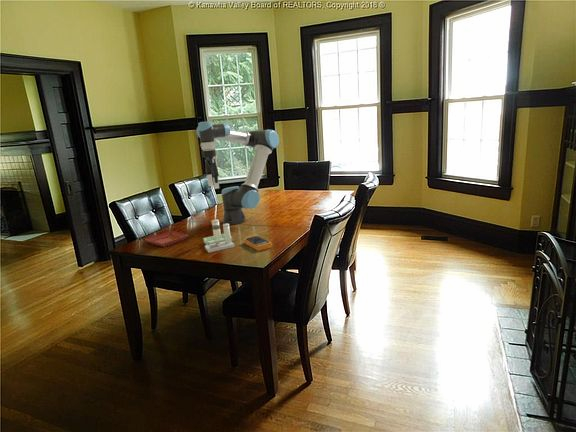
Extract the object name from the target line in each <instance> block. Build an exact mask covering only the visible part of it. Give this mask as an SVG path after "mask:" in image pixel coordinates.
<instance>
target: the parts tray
mask: <svg viewBox="0 0 576 432" xmlns="http://www.w3.org/2000/svg"><path fill="white" fill-rule="evenodd" d="M202 240H203V243H204V244H205V246H206V245H210V244H215V243H218V242H224V241H225V236H224V233H221V240H216V241H214V235H212V236H208V237H203V239H202ZM231 242H233V243H234V239H233V236H231Z"/></svg>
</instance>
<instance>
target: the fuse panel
mask: <svg viewBox="0 0 576 432" xmlns="http://www.w3.org/2000/svg"><path fill="white" fill-rule="evenodd" d="M230 248H231V249H232V248H235V243H234V241H233V242H231V243H230V244H226V243H225V241H224V242H218V243H215V244H210V245H206V244H205V245H204V249H205V250H206V251H207V253H209V254H210V253H215V252H217V251H218V252H219V251H222V250H227V249H230Z"/></svg>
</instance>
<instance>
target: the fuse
mask: <svg viewBox="0 0 576 432" xmlns="http://www.w3.org/2000/svg"><path fill="white" fill-rule="evenodd" d="M222 227H223V234H224V236H225V243H226V244H230V243H231V237H232V236H231V231H230V230H231V229H230V225H229V224H228V223H226V224H222Z"/></svg>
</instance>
